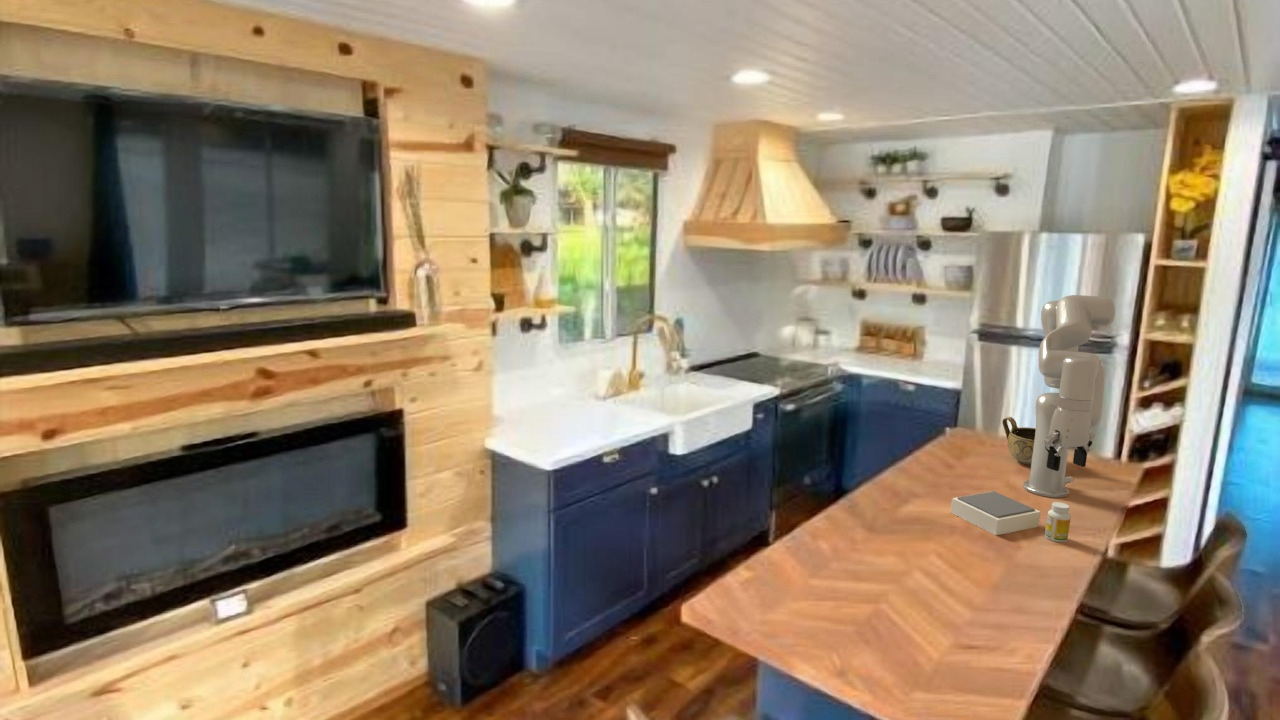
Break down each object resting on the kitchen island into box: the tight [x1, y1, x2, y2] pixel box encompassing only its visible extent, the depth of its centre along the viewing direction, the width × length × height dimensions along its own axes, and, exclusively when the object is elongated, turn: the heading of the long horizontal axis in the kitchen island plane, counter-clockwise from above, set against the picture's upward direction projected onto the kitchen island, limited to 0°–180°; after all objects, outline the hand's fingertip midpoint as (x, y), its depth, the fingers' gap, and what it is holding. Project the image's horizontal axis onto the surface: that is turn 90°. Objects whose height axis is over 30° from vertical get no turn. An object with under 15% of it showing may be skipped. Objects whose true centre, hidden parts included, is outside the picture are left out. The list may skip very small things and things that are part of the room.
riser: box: [950, 490, 1041, 536], centre depth 203 cm, size 16×16×5 cm
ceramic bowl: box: [1002, 416, 1036, 467], centre depth 249 cm, size 22×17×15 cm
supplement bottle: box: [1044, 501, 1072, 543], centre depth 191 cm, size 5×5×10 cm
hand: (1065, 467), depth 188 cm, fingers open, 9 cm apart
